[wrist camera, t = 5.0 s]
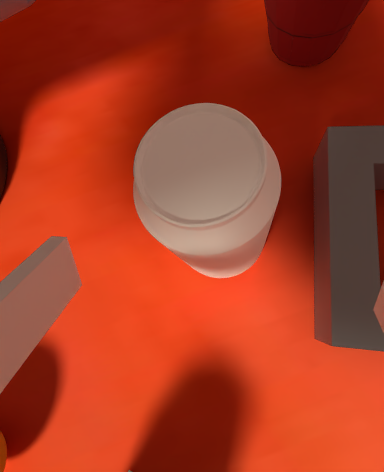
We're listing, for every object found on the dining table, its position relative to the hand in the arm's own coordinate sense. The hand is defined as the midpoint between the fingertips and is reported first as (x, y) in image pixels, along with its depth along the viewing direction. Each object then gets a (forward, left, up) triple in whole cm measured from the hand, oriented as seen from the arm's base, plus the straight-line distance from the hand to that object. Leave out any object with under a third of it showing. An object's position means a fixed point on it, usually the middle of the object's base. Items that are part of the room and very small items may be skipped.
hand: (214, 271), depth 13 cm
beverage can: (-1, +4, -9) cm, 10 cm away
